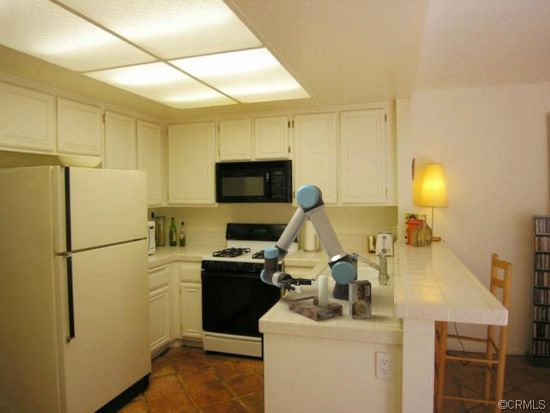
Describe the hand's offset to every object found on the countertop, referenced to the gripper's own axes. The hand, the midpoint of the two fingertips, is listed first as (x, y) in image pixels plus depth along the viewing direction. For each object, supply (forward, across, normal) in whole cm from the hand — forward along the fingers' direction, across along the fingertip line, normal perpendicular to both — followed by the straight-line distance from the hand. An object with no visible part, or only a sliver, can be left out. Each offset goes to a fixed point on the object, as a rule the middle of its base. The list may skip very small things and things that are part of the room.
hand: (311, 287), depth 183 cm
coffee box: (+20, -12, -12) cm, 26 cm away
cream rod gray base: (+8, 0, -11) cm, 14 cm away
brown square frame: (+2, -1, -11) cm, 11 cm away
